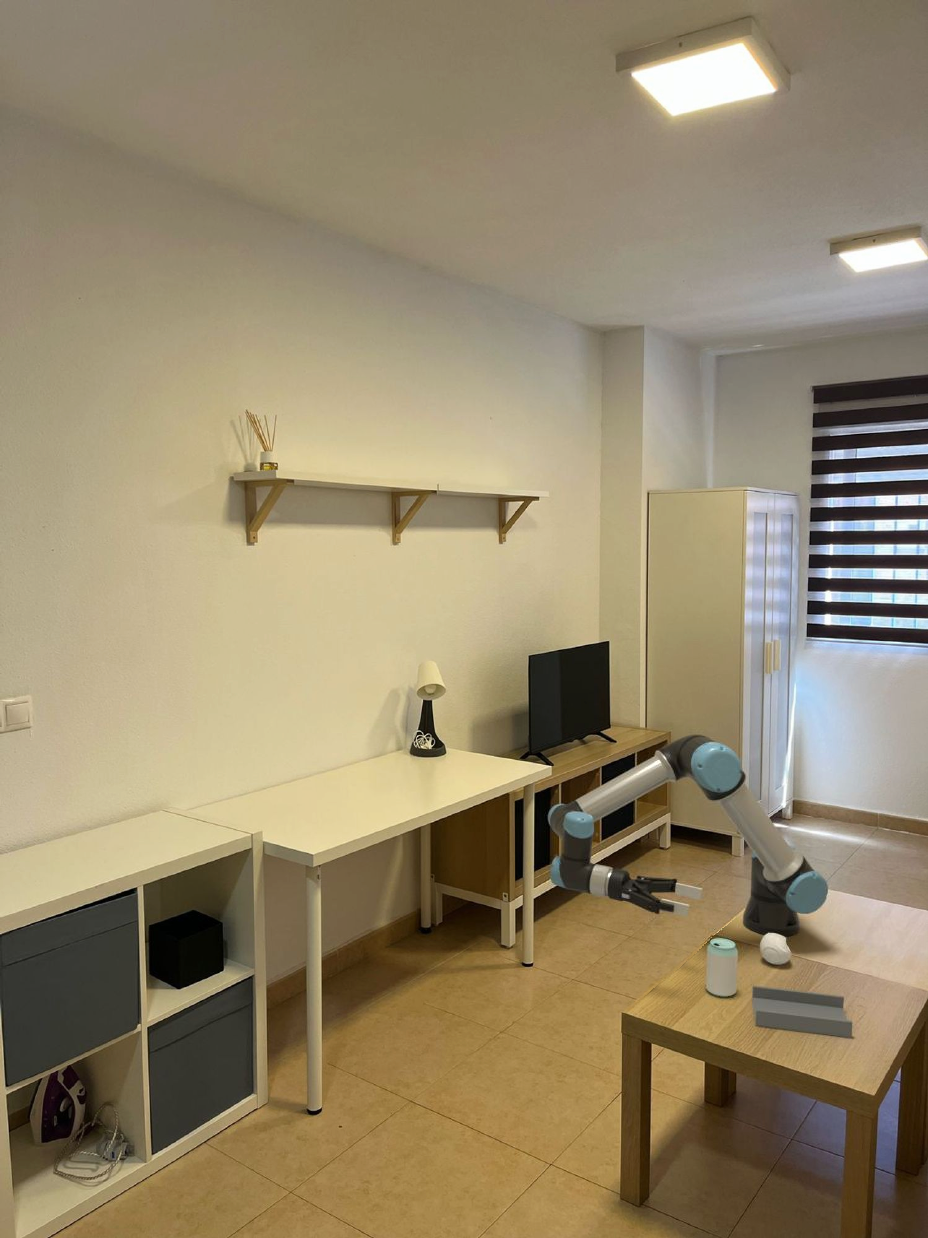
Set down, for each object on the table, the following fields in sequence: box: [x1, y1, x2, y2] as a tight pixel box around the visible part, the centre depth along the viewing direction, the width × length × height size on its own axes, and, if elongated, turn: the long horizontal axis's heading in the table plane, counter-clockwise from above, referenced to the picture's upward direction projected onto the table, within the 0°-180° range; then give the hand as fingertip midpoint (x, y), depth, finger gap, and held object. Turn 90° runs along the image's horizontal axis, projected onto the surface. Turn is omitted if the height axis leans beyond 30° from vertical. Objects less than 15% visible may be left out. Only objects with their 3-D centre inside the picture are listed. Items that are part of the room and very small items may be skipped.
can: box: [705, 937, 739, 998], centre depth 227 cm, size 7×7×12 cm
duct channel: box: [751, 985, 853, 1039], centre depth 215 cm, size 13×20×4 cm, turn 77°
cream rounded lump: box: [759, 933, 793, 966], centre depth 244 cm, size 8×8×8 cm
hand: (695, 902), depth 230 cm, fingers open, 13 cm apart
